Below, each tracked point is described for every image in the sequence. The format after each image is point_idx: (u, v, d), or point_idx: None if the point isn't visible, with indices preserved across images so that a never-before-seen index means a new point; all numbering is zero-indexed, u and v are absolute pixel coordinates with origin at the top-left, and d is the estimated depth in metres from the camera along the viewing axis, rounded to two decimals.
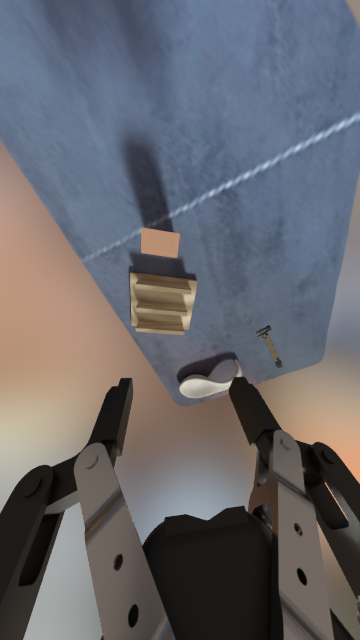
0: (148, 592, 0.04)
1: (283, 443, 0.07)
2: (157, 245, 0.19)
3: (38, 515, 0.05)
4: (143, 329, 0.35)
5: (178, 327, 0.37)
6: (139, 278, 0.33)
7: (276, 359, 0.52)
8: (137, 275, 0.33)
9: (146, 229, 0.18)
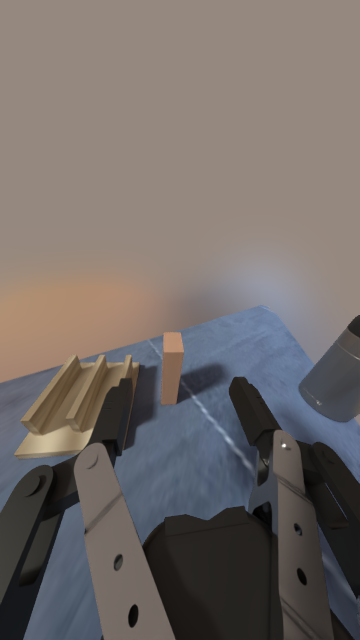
0: (148, 591, 0.04)
1: (283, 443, 0.07)
2: (171, 340, 0.23)
3: (38, 516, 0.05)
4: (70, 361, 0.27)
5: (42, 417, 0.21)
6: (133, 369, 0.32)
7: None
8: (136, 368, 0.33)
9: (180, 334, 0.25)
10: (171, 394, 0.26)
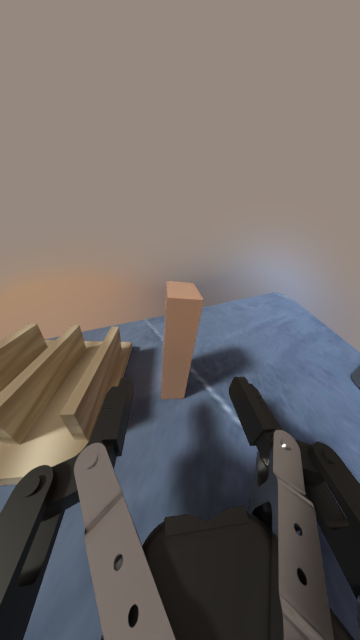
0: (148, 591, 0.04)
1: (283, 443, 0.07)
2: (179, 287, 0.14)
3: (38, 515, 0.05)
4: (23, 331, 0.18)
5: None
6: (122, 350, 0.23)
7: None
8: (127, 348, 0.23)
9: (193, 284, 0.15)
10: (177, 381, 0.17)
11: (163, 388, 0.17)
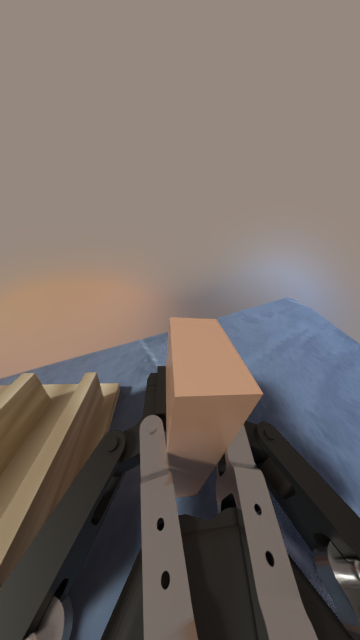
0: (180, 573, 0.04)
1: None
2: (196, 339, 0.07)
3: (111, 473, 0.06)
4: None
5: None
6: (105, 399, 0.16)
7: None
8: (112, 396, 0.17)
9: (217, 324, 0.08)
10: (188, 485, 0.10)
11: None
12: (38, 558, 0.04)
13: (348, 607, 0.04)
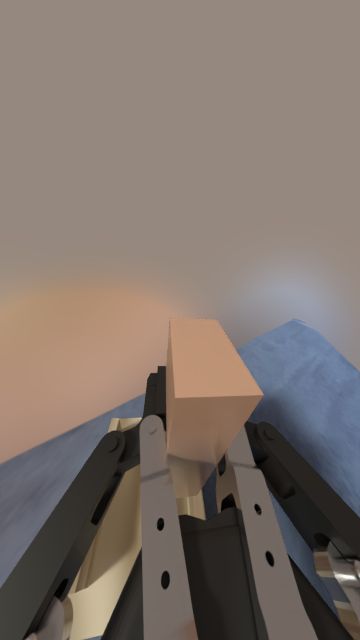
0: (180, 573, 0.04)
1: None
2: (196, 340, 0.07)
3: (111, 473, 0.06)
4: None
5: (88, 559, 0.13)
6: None
7: None
8: None
9: (217, 325, 0.08)
10: (188, 485, 0.10)
11: None
12: (38, 558, 0.04)
13: (347, 607, 0.04)
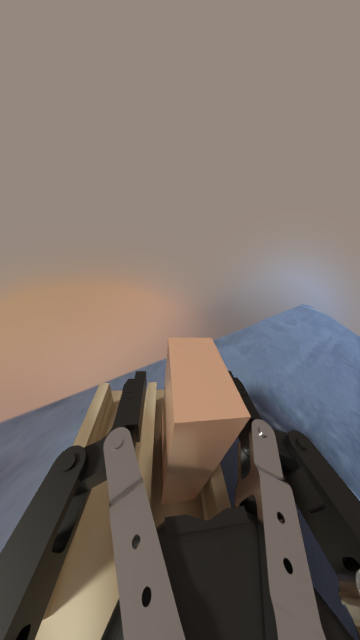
0: (161, 580, 0.04)
1: (260, 431, 0.08)
2: (192, 362, 0.08)
3: (71, 492, 0.05)
4: (101, 399, 0.15)
5: None
6: None
7: None
8: None
9: (212, 343, 0.09)
10: (186, 491, 0.11)
11: (164, 498, 0.11)
12: None
13: None
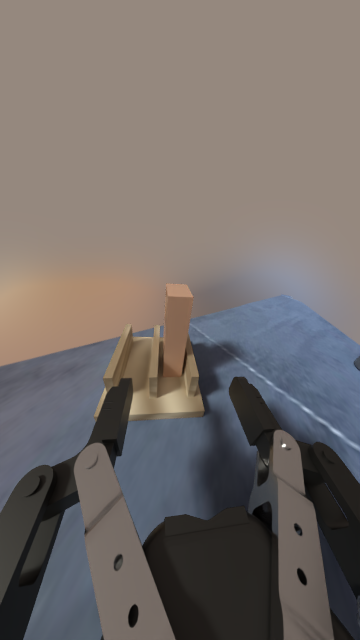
0: (148, 591, 0.04)
1: (283, 443, 0.07)
2: (176, 288, 0.19)
3: (38, 516, 0.05)
4: (128, 330, 0.26)
5: (117, 379, 0.19)
6: None
7: None
8: None
9: (186, 286, 0.20)
10: (175, 362, 0.22)
11: (164, 367, 0.22)
12: None
13: None
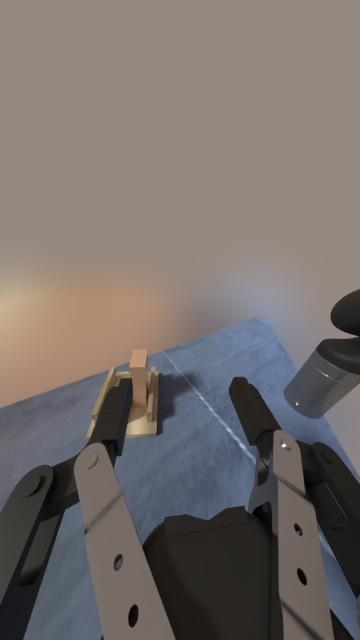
0: (148, 591, 0.04)
1: (283, 443, 0.07)
2: (137, 356, 0.30)
3: (38, 516, 0.05)
4: (111, 372, 0.37)
5: None
6: (155, 377, 0.42)
7: None
8: (157, 376, 0.42)
9: (146, 351, 0.31)
10: (140, 398, 0.33)
11: (134, 402, 0.33)
12: None
13: None
